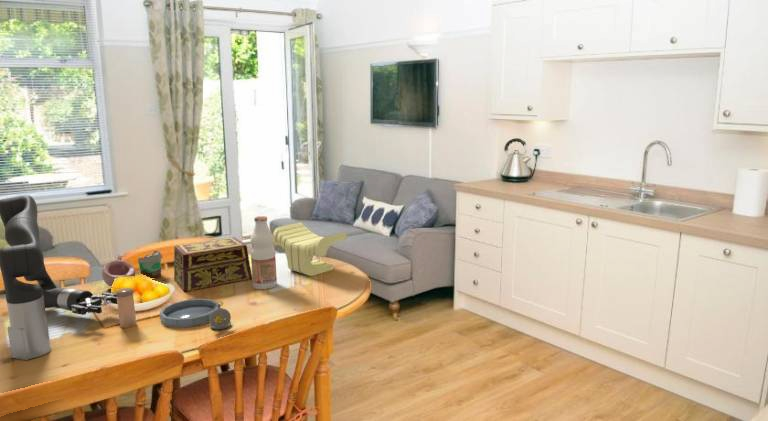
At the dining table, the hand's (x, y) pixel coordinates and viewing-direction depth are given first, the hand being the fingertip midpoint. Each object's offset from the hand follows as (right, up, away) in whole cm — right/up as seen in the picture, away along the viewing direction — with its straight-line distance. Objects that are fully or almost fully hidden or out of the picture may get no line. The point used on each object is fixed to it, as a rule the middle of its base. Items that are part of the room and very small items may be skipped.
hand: (111, 305), depth 193 cm
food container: (-5, +4, +49) cm, 50 cm away
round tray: (+25, -5, +5) cm, 26 cm away
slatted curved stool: (+60, +6, +55) cm, 82 cm away
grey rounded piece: (+38, -7, -5) cm, 39 cm away
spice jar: (+6, -6, -1) cm, 9 cm away
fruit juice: (+45, +2, +36) cm, 57 cm away
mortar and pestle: (-14, +1, +37) cm, 40 cm away
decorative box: (+21, +3, +45) cm, 49 cm away
